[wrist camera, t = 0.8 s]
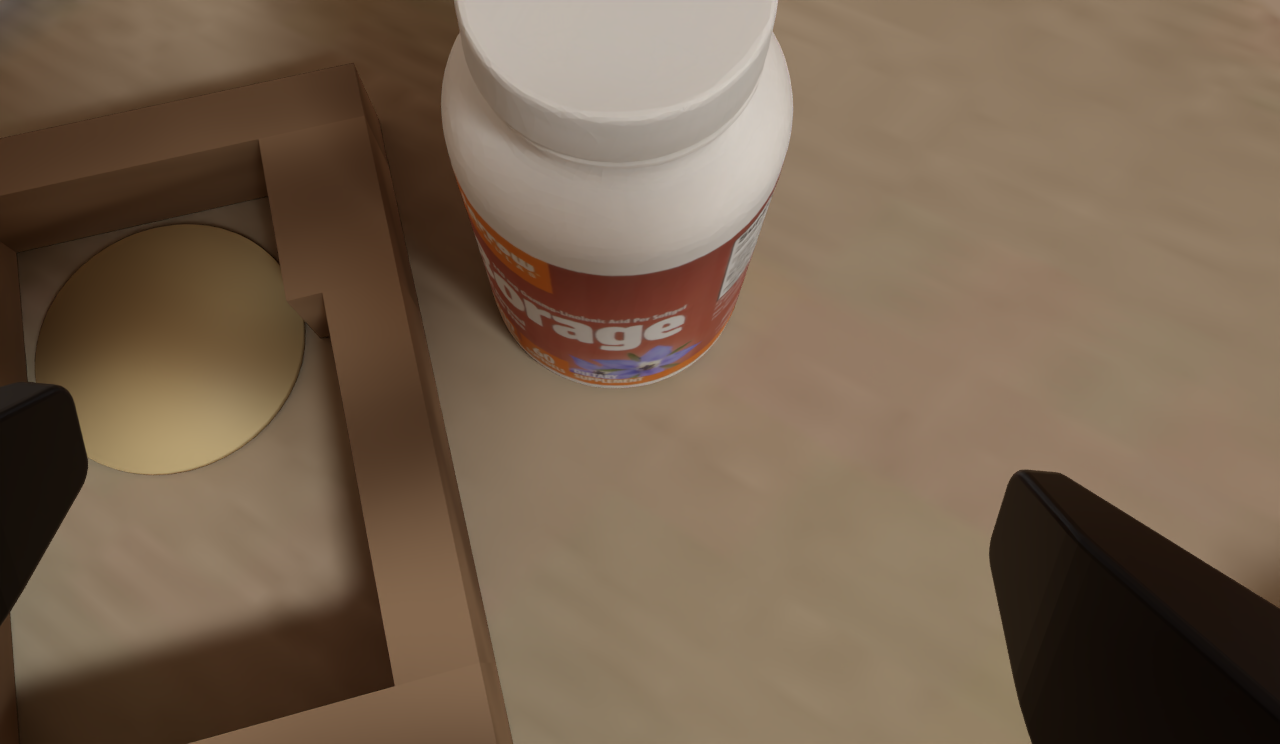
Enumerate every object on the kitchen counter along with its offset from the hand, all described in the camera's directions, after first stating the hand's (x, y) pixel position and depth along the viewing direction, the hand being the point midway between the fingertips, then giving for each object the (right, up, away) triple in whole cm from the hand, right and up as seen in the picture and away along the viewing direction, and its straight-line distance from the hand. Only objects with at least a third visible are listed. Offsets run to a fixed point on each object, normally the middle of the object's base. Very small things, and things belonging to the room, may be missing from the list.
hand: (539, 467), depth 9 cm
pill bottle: (0, +3, +15) cm, 15 cm away
